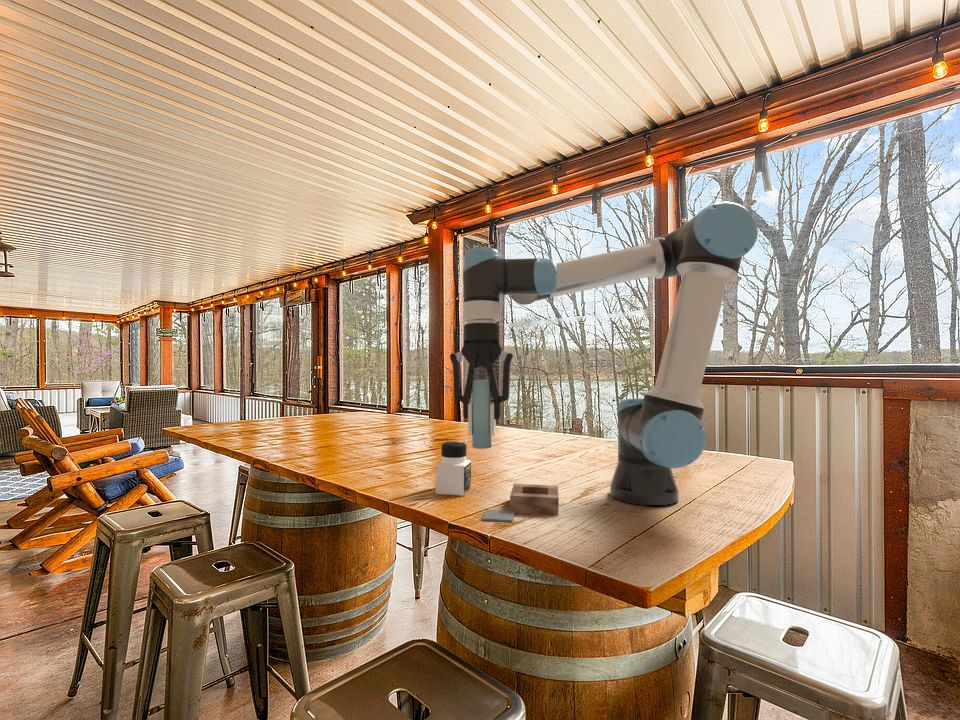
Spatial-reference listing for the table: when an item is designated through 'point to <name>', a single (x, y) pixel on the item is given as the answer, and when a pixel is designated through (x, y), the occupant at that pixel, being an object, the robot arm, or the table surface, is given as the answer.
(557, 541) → the table surface
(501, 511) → the coaster
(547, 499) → the socket block
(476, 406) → the peg
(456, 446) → the medicine bottle
